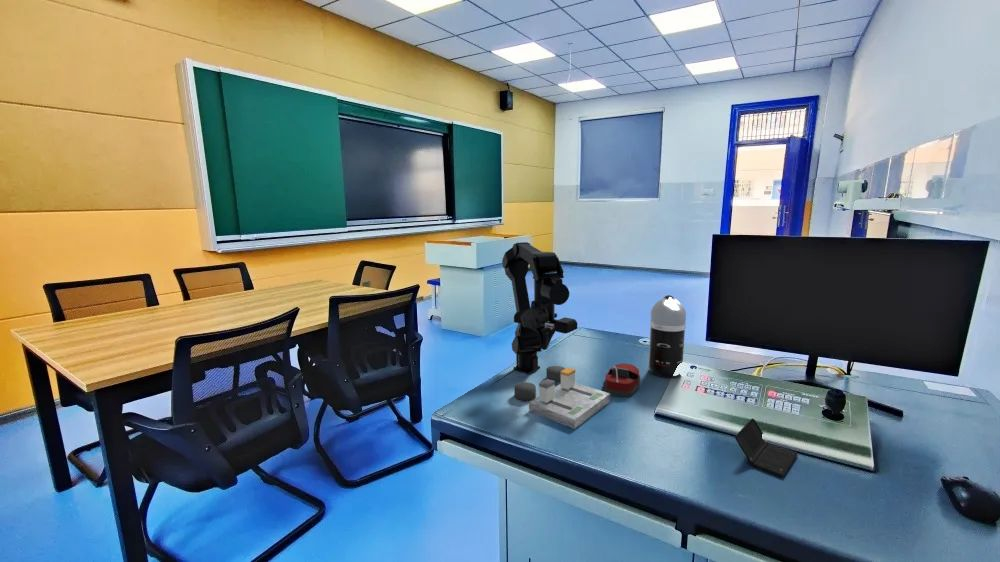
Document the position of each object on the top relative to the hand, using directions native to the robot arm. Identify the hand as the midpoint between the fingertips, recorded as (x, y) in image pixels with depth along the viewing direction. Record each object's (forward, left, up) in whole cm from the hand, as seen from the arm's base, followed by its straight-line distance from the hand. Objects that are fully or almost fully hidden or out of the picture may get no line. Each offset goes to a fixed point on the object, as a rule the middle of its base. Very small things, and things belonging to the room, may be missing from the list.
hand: (544, 349), depth 123 cm
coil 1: (-1, -8, -12) cm, 14 cm away
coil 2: (-1, +8, -12) cm, 14 cm away
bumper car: (+17, +15, -12) cm, 26 cm away
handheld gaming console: (+56, +2, -12) cm, 57 cm away
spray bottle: (+23, +33, -12) cm, 42 cm away
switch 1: (+8, -10, -9) cm, 16 cm away
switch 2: (+8, 0, -9) cm, 12 cm away
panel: (+12, -5, -12) cm, 18 cm away
